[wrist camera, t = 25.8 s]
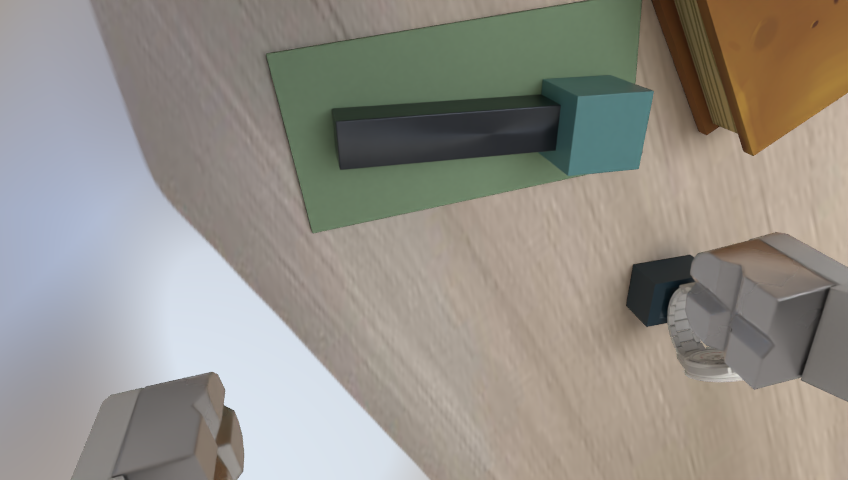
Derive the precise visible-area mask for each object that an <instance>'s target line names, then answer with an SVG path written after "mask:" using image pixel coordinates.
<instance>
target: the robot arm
mask: <svg viewBox="0 0 848 480" xmlns="http://www.w3.org/2000/svg"><path fill="white" fill-rule="evenodd" d="M690 275H691V276H692V277H693V279H694V280H695V281H696V283H695V284H694V286H693V287H692V288H691V290H690V291H689V292H688V294H687V296H686V305H685V312H686V316H687V319H688V322H689V325H690V327H691V328H692V330H693V332H694V333H695V335H696V336H697V337H698V338H699V339H700V340H701V341H702V342H703V343H704V344H705V345H707V346H710V347H712V348H715V349H718V350H721V351H723V354H724V362H725V363H726V364H727V365H728V366H729V367H730V368H731V369H732V370H733V371H734V372H736V373H737V374H738V375H739V376H740V377H741V378H742V379H743V380H744V381H745V382H746V383H747V384H749V385H750V386H751V387H752V388H753V389H758V388H762V387H766V386H770V385H774V384H777V383H781V382H785V381H789V380H793V379H797V378H801V380H802V381H804V382H806V383H808V384H810V385H812V386H815V387H817V388H819V389H821V390H823V391H825V392H828V393H830V394H832V395H834V396H836V397H839V398H841V399H843V400H845V401H847V402H848V267H846V266H845V265H843V264H841V263H839V262H837V261H835V260H834V259H832V258H830V257H828V256H826V255H825V254H823V253H821V252H819V251H817V250H816V249H814V248H812V247H810V246H808V245H807V244H805V243H803V242H801V241H799V240H797V239H796V238H794V237H792V236H790V235H788V234H784V233H778V232H775V233H772V234H768V235H764V236H760V237H757V238H753V239H750V240H749V241H745V242H741V243H737V244H733V245H729V246H725V247H721V248H717V249H713V250H709V251H705V252H701V253H697V255H696V256H695V258H694V259H693V261H692V265H691V270H690ZM224 397H225V388H224V386H223V384H222V382H221V380H220V378H219V376H218V374H215V373H214V372H209V373H205V374H201V375H196V376H191V377H187V378H182V379H178V380H173V381H169V382H165V383H160V384H156V385H151V386H146V387H145V388H139V389H135V390H131V391H126V392H122V393H118V394H113V395H110V396H109V397H108V398H107V399H105V400H104V401H103V403H102V405H101V407H100V410H99V412H98V415H97V417H96V419H95V422H94V425H93V427H92V429H91V432H90V434H89V437H88V439H87V441H86V444H85V446H84V449H83V451H82V454H81V456H80V459H79V461H78V463H77V466H76V468H75V471H74V473H73V476H72V478H71V480H237V479H238V478H239V476H240V475H241V474H242V472H243V467H244V448H243V438H242V432H241V429H240V425H239V421H238V419H237V417H236V414H235V412H234V410H232V409H230V408H228V407H226V406H224Z"/></svg>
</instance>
